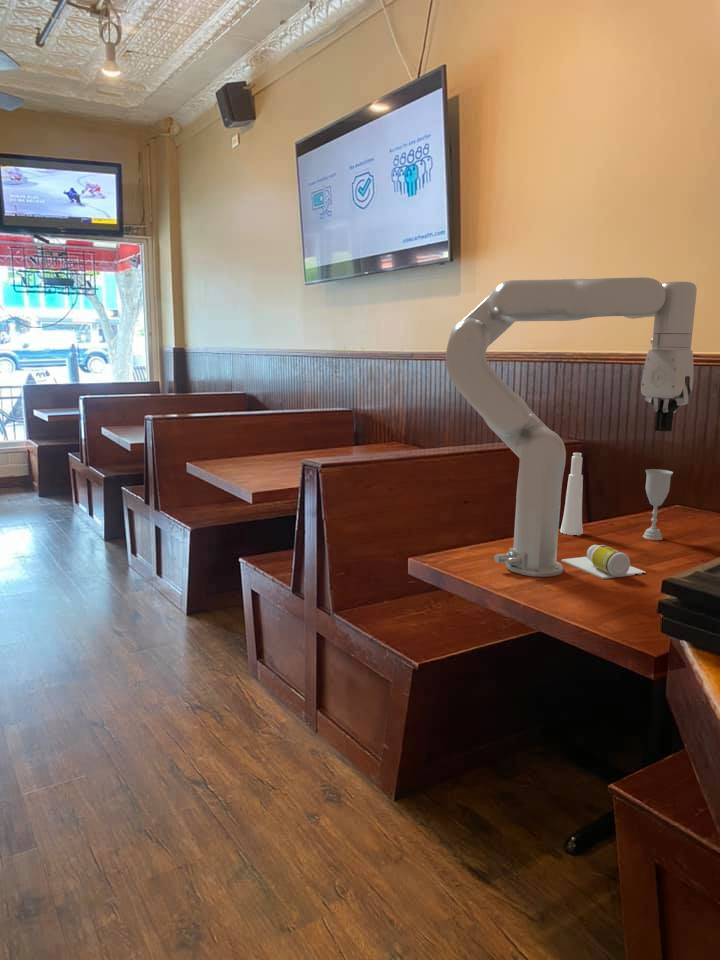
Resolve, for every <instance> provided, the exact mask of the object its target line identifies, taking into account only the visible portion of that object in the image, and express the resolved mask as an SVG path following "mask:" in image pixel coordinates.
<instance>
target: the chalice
mask: <svg viewBox="0 0 720 960" xmlns="http://www.w3.org/2000/svg"><path fill="white" fill-rule="evenodd" d="M645 473H646V481H645V492H646V497H647V498H648V501H649V504H650V505H652V506H653V510H652V512H651V514H652V517H651V519H650V521H651V526H650V527H647V528H646V529H645V531H644V534H643V535H642V538H643V537H644V538H643V539H647V540H652V541H661V540H663V537H662V536H663V535H662V532H661V531H660V529H659V528H658V527H657V525H656V524H657V522H658V521H659V520H658V519H657V518H658V517H657V516H658V515H659V512H658V508H659V507H660V506H662V505H663V504H664V502H665V500H666V499H667V496H668V494H669V492H670V488H671V477H672V476H673V474H674V471H671V470H667V469H655V468H652V469H651V468H650V469H648V468H647V469H645Z"/></svg>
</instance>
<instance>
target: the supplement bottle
mask: <svg viewBox="0 0 720 960" xmlns="http://www.w3.org/2000/svg"><path fill="white" fill-rule="evenodd" d="M586 557H587V558H588V559H589V560H590V561H591V562H592V564H593V565H594V566H595V567H597V568H599V569H601V570H603V571H605V572H607V573H609V574H611V575H613V576H615V578H621V577H620V576H623V575H624V574H626V573H627V571H628V570H629V567H630V566H631V560H630V557H629V556H628V555H627V554H626V553H624V552H621V551H620V550H617V549H615V548H612V547H610V546H608V545H605V544H601V545H598V544H593V545H590V547H588V549H587V551H586ZM623 577H624V576H623Z"/></svg>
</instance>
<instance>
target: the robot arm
mask: <svg viewBox="0 0 720 960" xmlns="http://www.w3.org/2000/svg"><path fill="white" fill-rule="evenodd" d="M697 288H698V287H697V285H696V284H695V283H694V282H691V281H668V282H663V283H662V282H660V281H659V280H657V279H655V278H653V277H646V276H645V277H643V276H642V277H640V276H639V277H608V278H607V277H606V278H563V279H561V278H558V279H511V280H506V281H503V282H500V284H498V285H496V287H495V288H494V289H493V290H491V292H490V294H488V296H487V297H485V298H484V300H483V301H482V302H480V304H478V305H477V306H476V307H475V308H474V309H473V310H471V312H469V314H467V316H465V317H464V318H463V319H461V320H460V321H458V322H457V323H456V324H455V325H454V326H453V328H452V330H451V332H450V334H449V339H448V342H447V346H446V350H445V364H446V370H447V373H448V375H449V378H450V380H451V383H452V384H453V385H454V386H455V389H457V391H458V392H459V393H460V394H461V395H462V397H464V399H465V400H466V401H467V403H469V404H470V405H471V407H472V408H473V409H474V410H475V411H476V412H477V414H479V416H480V417H481V418H483V420H484V422H485V423H486V425H487V426H488V428H489V429H490V430H491V431H492V432H493V433H494V434H495V435H496V436H497V437H498V438H500V440H501V441H502V442H503V443H504V444H505V446H507V447H508V448H509V449H510V450H511V451H512V452H513V453H514V454H515V455H516V457H518V459H519V465H518V474H517V483H516V484H517V485H516V496H515V501H516V502H515V515H514V516H515V517H514V533H513V547H509V549H508V551H507V552H506V553H496V554H494V555H493V556H494V557H493V559H494V562H495V563H496V564H499V563H505V565H504V566H505V568H506V569H507V570H508V571H510V572H512V573H515V574H517V575H518V574H519V575H522V576H528V577H543V578H545V577H546V578H547V577H554V576H558V575H560V574H562V573H563V571H564V566H563V564H562V563H561V562H558V561H557V557H558V539H559V531H560V530H559V527H560V516H561V515H560V514H561V504H562V503H561V501H562V499H561V498H562V490H563V489H562V488H563V486H562V485H563V481H564V472H565V467H566V460H567V459H566V458H567V452H566V446H565V444H564V441H563V439H562V438H561V437H560V436H559V434H558V433H556V432H555V431H553V430H551V429H550V428H549V427H548V426H547V425H546V424H545V423H544V422H543V421H542V420H541V419H540V418H539V417H538V415H536V414H535V413H534V412H533V410H532V409H531V408H530V407H529V406H528V404H527V402H526V401H525V400H524V399H523V398H522V397H521V396H520V395H518V394H517V393H516V392H514V390H512V389H511V387H509V386H508V385H507V383H505V381H504V380H503V379H502V378H501V377H500V375H498V373H496V371H495V370H494V369H493V368H492V366H490V364H489V362H488V360H487V355H486V353H487V350H488V347H489V346H490V345H491V344H493V343H494V342H496V340H497V339H498V338H499V337H500V336H501V335H502V334H504V333H505V332H506V331H507V330H508V329H509V328H510V327H511V326H513V324H514V323H515V322H569V321H570V322H571V321H573V322H574V321H579V320H586V319H590V318H591V319H592V318H602V317H604V318H605V317H624V318H627V319H632V320H633V319H641V318H651V317H654V321H653V332H652V333H653V334H652V338H651V339H650V344H651V349H648V352H647V354H646V357H645V361H644V366H643V371H642V375H641V377H642V379H641V384H640V394H641V395H642V396H644V400H645V402H648V403H650V404H652V406H653V411H654V412H655V420H654V421H655V422H654V431H657V432H671V431H672V430H673V423H674V422H673V419H674V413H677V409H678V408H679V407H680V406H684V405H688V404H689V402H690V401H689V397H690V396H691V395H692V391H693V386H694V373H695V372H694V367H695V366H694V353H693V350H692V341H693V332H694V324H695V323H694V322H695V314H696V313H695V310H696V304H697V303H696V302H697V294H698V293H697V292H698V290H697Z"/></svg>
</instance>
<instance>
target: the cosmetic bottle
mask: <svg viewBox="0 0 720 960" xmlns="http://www.w3.org/2000/svg"><path fill="white" fill-rule="evenodd" d="M582 455H583V453H581V452H573V453H572V456H571V462H570V464H571V465H570V473H569V474H568V480H567V487H566V493H565V504H564V508H563V509H564V510H563V516H562V521H561V526H560V530H559V532H560V533H561V534H562V533H563V535H566V534H567V536H573V535H577V536H582V535H583V534H584V529H583V492H584V491H583V490H584V489H583V487H584V486H583V485H584V484H583V481H584V477H583V476H584V475H583V474H582V469H583V456H582ZM581 534H582V535H581Z"/></svg>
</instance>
